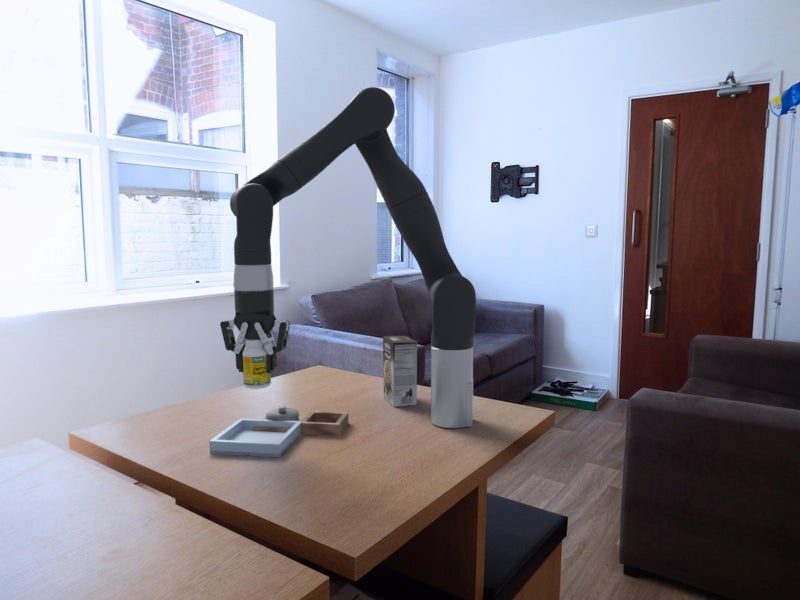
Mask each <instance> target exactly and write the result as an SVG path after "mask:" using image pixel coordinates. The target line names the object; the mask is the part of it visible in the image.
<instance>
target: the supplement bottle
mask: <svg viewBox="0 0 800 600" xmlns="http://www.w3.org/2000/svg"><path fill="white" fill-rule="evenodd" d="M245 345H246V348H245V350H244V351H243V354H242V355H243V372H242V373H243V374H242V375H243V386H244V388H245V389H250V390H258V389H265V388H268V387H269V386H271V384H272V377H271V376H272V373H268V372H267V355H268V352H267V350H266V348H265V346H264V345H263V343H262V341H261V339H255V338H251V339H245Z"/></svg>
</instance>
